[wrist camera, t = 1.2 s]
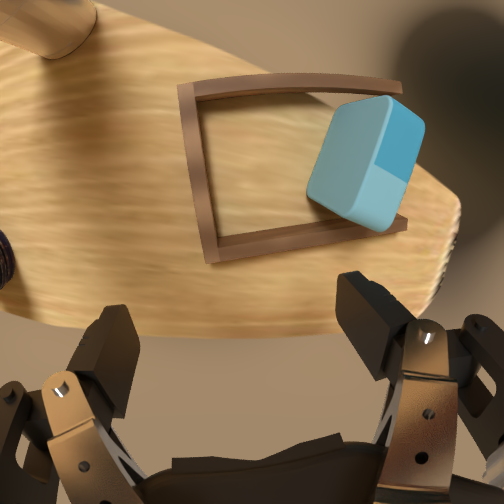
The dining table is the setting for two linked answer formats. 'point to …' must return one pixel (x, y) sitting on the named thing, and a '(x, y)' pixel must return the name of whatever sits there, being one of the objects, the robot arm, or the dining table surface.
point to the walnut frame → (211, 244)
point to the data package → (367, 161)
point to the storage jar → (6, 260)
